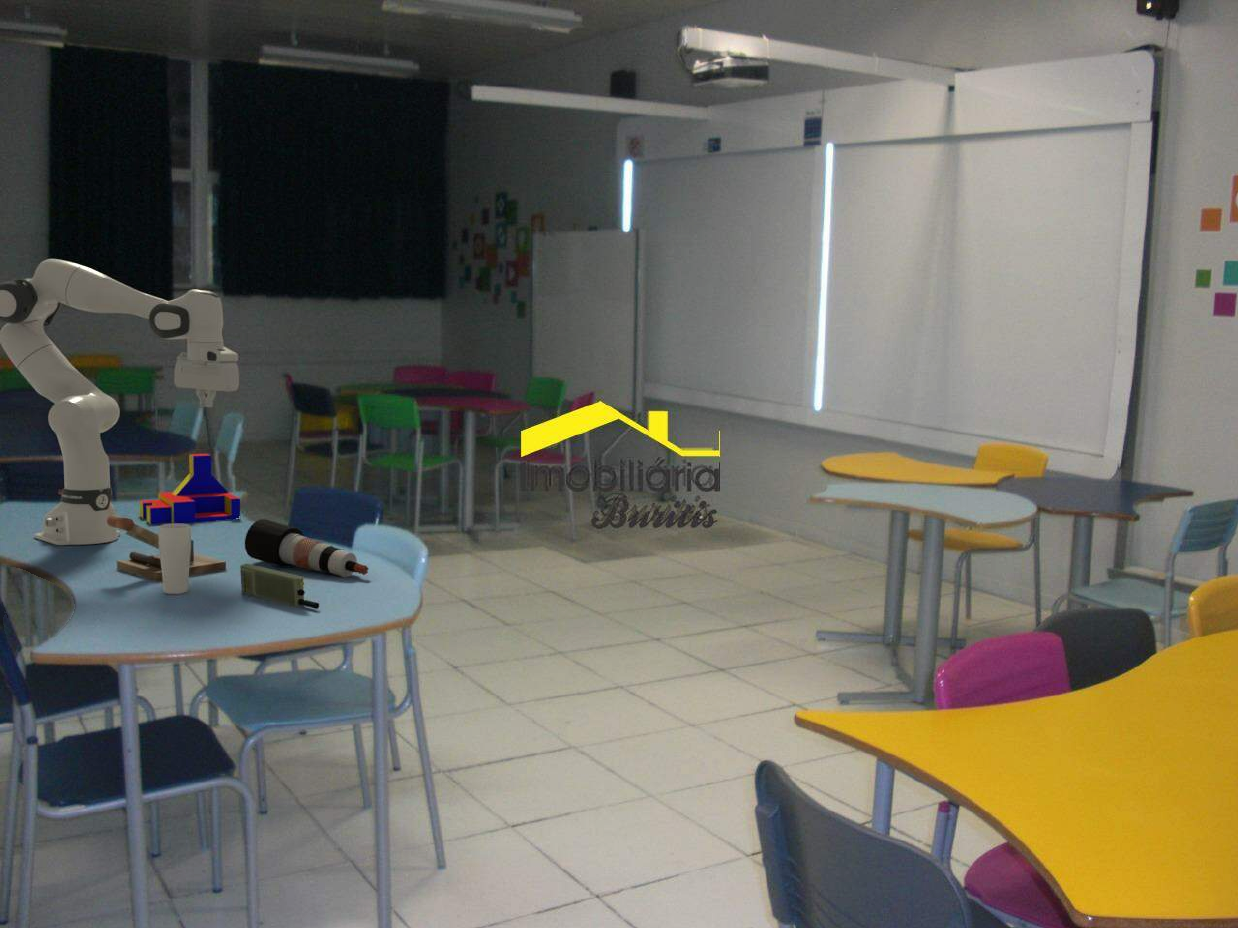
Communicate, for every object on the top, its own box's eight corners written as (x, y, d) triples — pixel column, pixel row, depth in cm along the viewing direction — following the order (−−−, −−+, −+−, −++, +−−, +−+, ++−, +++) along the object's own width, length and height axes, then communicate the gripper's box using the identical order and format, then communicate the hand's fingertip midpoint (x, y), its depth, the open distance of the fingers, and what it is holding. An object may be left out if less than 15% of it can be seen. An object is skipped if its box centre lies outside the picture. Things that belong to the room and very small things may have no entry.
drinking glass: (153, 594, 265) (152, 527, 263) (169, 587, 272) (167, 522, 270) (182, 596, 264) (181, 529, 262) (197, 589, 271) (196, 524, 269)
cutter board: (185, 558, 303) (184, 530, 302) (226, 569, 291) (225, 541, 290) (117, 568, 289) (116, 540, 288) (156, 581, 277) (156, 551, 277)
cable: (356, 599, 284) (346, 566, 279) (251, 566, 300) (239, 534, 294) (383, 574, 292) (373, 541, 286) (278, 542, 307) (268, 511, 301)
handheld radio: (251, 591, 272) (324, 610, 257) (239, 594, 269) (311, 613, 254) (250, 562, 271) (322, 579, 256) (237, 565, 268) (310, 582, 253)
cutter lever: (180, 545, 295) (110, 512, 280) (196, 549, 291) (126, 516, 276) (175, 557, 294) (104, 525, 279) (190, 561, 290) (119, 529, 275)
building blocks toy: (138, 516, 360) (136, 455, 358) (222, 510, 374) (222, 452, 371) (152, 526, 344) (150, 463, 342) (240, 520, 358) (239, 459, 356)
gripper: (167, 351, 312) (168, 405, 314) (223, 355, 302) (224, 410, 304) (187, 351, 317) (188, 403, 319) (242, 354, 308) (243, 408, 309)
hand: (206, 407), depth 311 cm, fingers closed
